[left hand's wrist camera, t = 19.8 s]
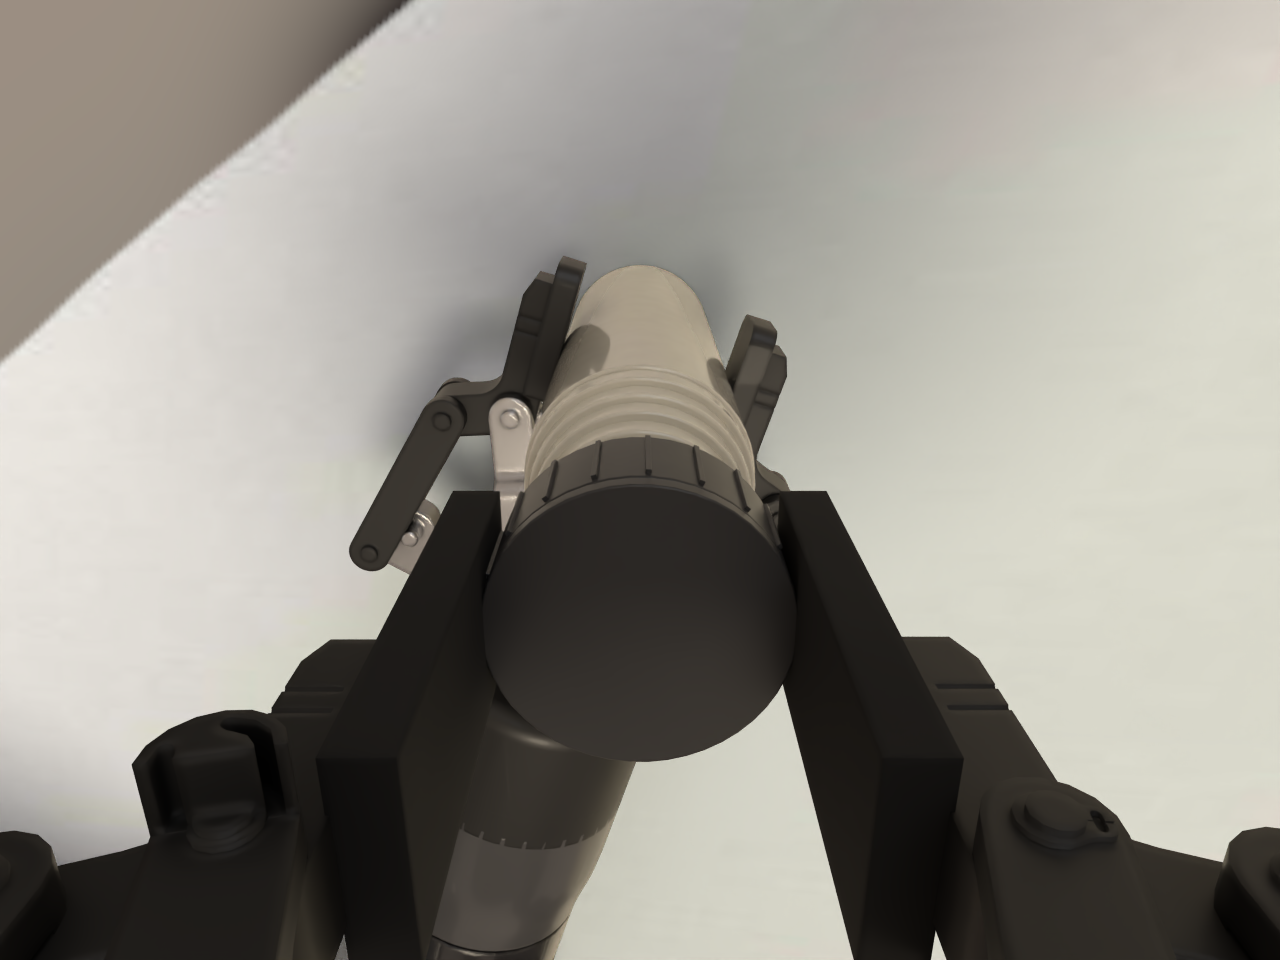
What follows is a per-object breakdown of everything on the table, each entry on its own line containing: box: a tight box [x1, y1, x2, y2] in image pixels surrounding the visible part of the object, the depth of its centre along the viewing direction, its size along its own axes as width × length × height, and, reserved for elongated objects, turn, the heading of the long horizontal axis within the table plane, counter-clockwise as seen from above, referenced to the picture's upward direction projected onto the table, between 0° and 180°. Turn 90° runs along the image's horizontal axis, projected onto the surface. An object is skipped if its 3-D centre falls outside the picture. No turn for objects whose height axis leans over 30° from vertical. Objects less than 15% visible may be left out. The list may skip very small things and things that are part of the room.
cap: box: [482, 435, 797, 762], centre depth 14 cm, size 5×5×2 cm
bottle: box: [524, 265, 755, 491], centre depth 23 cm, size 5×5×20 cm
